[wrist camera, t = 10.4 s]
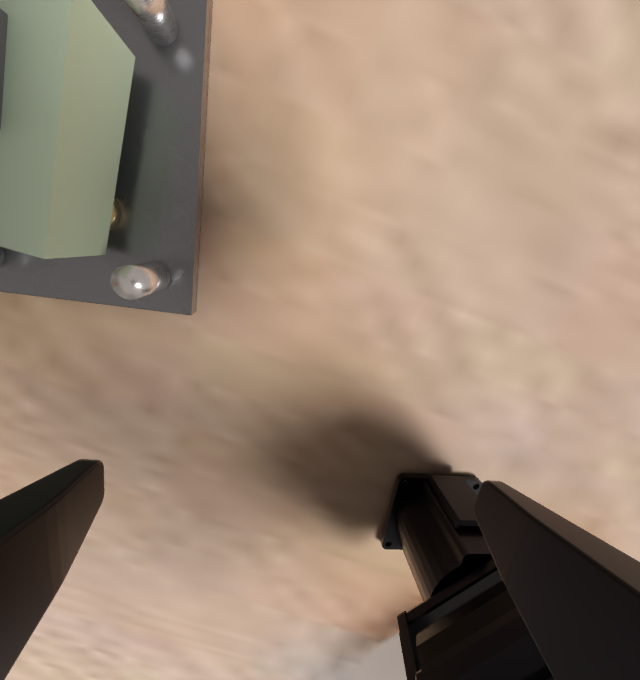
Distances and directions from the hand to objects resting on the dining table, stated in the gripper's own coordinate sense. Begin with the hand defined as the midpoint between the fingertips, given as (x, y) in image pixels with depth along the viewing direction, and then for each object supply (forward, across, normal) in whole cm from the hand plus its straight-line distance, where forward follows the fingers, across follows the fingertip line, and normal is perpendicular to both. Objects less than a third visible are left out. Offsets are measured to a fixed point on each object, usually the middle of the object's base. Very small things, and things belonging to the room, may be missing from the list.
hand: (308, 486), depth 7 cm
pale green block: (+10, +11, -8) cm, 17 cm away
